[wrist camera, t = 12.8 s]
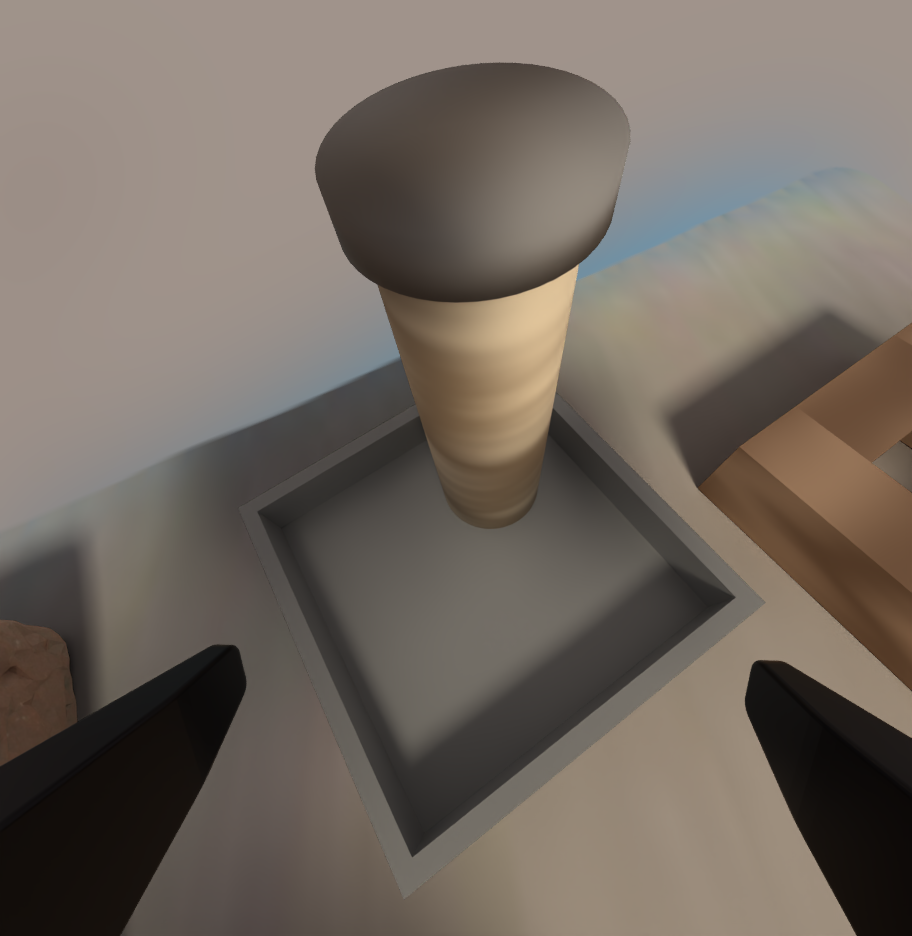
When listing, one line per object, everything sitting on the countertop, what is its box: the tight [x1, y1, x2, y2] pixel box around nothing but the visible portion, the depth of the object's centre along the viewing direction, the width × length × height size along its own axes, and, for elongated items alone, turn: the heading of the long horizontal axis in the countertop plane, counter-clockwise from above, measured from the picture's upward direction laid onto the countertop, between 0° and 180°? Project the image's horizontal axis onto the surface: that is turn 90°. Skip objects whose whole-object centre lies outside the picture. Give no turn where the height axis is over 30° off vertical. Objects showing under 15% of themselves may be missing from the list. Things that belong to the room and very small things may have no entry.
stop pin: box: [315, 63, 630, 529], centre depth 12 cm, size 5×5×13 cm
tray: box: [238, 392, 765, 899], centre depth 16 cm, size 13×13×2 cm
